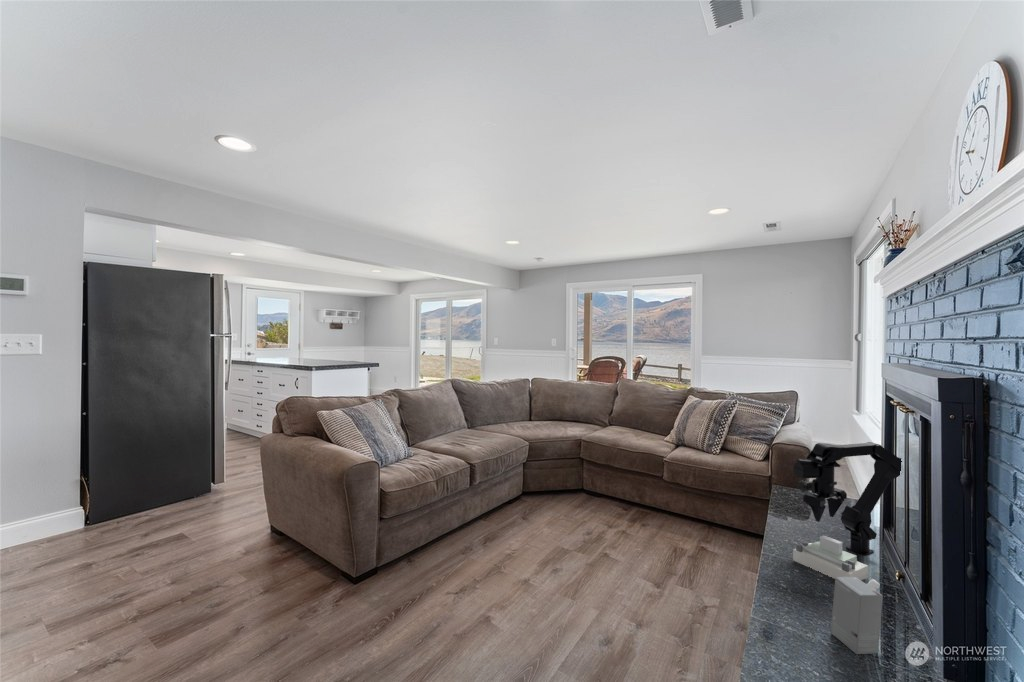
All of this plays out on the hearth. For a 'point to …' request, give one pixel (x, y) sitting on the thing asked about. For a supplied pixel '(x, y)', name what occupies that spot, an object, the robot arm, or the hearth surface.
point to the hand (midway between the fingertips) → (824, 518)
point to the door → (830, 551)
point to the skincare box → (856, 615)
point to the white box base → (829, 564)
